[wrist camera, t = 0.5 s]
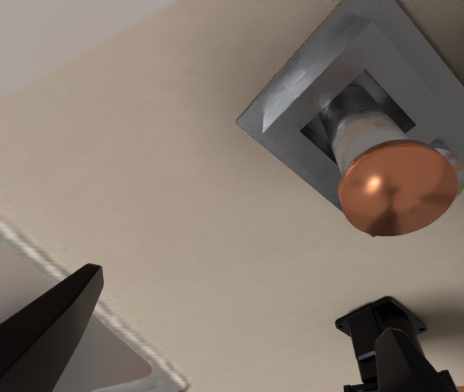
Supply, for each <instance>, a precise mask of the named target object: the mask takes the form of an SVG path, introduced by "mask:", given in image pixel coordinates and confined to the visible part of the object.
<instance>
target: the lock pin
mask: <svg viewBox="0 0 464 392" xmlns="http://www.w3.org/2000/svg"><path fill="white" fill-rule="evenodd" d="M321 121H322V124H323V126H324V129H325V132H326V134H327V137H328V140H329V142H330V145H331V148H332V150H333V153H334V156H335V158H336V161H337V164H338V166H339V169H340V172H341V174H342V176H341V179H340V182H339V186H338V194H339V199H340V202H341V205H342V208H343V211H344V214H345V216H346V218H347V219H348V221H349V222H350V223H351V224H352V225H353V226H354V227H356V228H357V229H359V230H361V231H363V232H365V233H368V234H372V235H377V236H397V235H403V234H408V233H411V232H414V231H417V230H419V229H422V228H424V227H426V226H428V225H429V224H431V223H432V222H434V221H435V220H437V219H438V218H439V217H440V216H441V215H442V214H444V213H445V211H446V210H447V209H448V208H449V207H450V205H451V204H452V202H453V200H454V198H455V196H456V193H457V189H458V177H457V173H456V171H455V169H454V167H453V166H452V165H451V163H450V162H449V161H448V160H447V159H446V158H445V157H444V156H443V155H442V154H441V153H440V152H439V151H437V150H436V149H435V148H434V147H432V146H431V145H429V144H427V143H424V142H421V141H418V140H411V139H409V138H408V136H407V135H406V134H405V133H404V132H403V131H402V130H401V129H400V128H399V126H398V125H397V124H396V123H395V122H394V121H393V120H392V119H391V117H390V116H389V115H388V114H387V113H386V112H385V111H384V110H383V109H382V107H381V106H380V105H379V104H378V103H377V102H376V101H375V100H374V98H373V97H372V96H371V95H370V94H369V93H368V92H367V91H366V90H364V89H363V88H361V87H357V86H347V87H345V88H344V89H343V90H342V91H341V92H340V93H339V94H338V95H337V96H336V97H335V98H334V99H333V100H332V101H331V102H330V103H328V104H327V105H326V106H325V107H324V108H323V109H322V110H321Z"/></svg>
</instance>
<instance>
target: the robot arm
mask: <svg viewBox="0 0 464 392" xmlns="http://www.w3.org/2000/svg"><path fill="white" fill-rule="evenodd" d="M103 285H104V279H103V270H102V267H101V266H100V265H96V264H91V263H88V264H86V265H84V266H83V267H81V268H80V269H78V270H77V271H76V272H74V273H73V274H71V275H70V276H68V277H67V278H66V279H64V280H63V281H61V282H60V283H58V284H57V285H55V286H54V287H53V288H51V289H50V290H48V291H47V292H45V293H44V294H43V295H41V296H40V297H38V298H37V299H35V300H34V301H33V302H31V303H30V304H28V305H27V306H25V307H24V308H22V309H21V310H20V311H18V312H17V313H15V314H14V315H13V316H11V317H10V318H8V319H7V320H5V321H4V322H2V323H1V324H0V392H52V391H53V389H54V387H55V385H56V384H57V382H58V380H59V378H60V376H61V375H62V373H63V371H64V369H65V367H66V365H67V364H68V362H69V360H70V358H71V356H72V355H73V353H74V351H75V349H76V347H77V346H78V344H79V342H80V340H81V338H82V336H83V334H84V331H85V329H86V327H87V324H88V322H89V319H90V317H91V315H92V312H93V310H94V308H95V305H96V303H97V301H98V298H99V296H100V294H101V291H102V289H103ZM335 325H336V328H337V329H339V330H341V331H342V332H344V333H345V334H347V335H348V336H350V337H351V339H352V344H353V348H354V352H355V357H356V359H357V362H358V367H359V371H360V375H361V380H362V382H363V383H364V384H358V385H352V386H350V385H344V392H459V391H458V389H457V387H456V385H455V383H454V381H453V379H452V377H451V375H450V373H449V371H448V370H442V371H441V372H437V371H436V370H435V369H434V367H433V366H432V365H431V364H430V363H429V361H428V360H427V359H426V358H425V355H424V353H423V350H422V348H421V346H420V343H419V341H418V338H417V336H416V335H417V334H420V333H422V332H425V331H427V327H426V325H425V324H424V323H423V322H422V321H420V320H419V319H418V318H416V317H415V316H414V315H412V314H411V313H410V312H408V311H407V310H406V309H404V308H403V307H402V306H400V305H399V304H398V303H396V302H395V301H394V300H392V299H391V298H384V299H382V300H380V301H378V302H376V303H373V304H371V305H369V306H367V307H365V308H363V309H361V310H359V311H356V312H354V313H352V314H350V315H348V316H346V317H344V318H342V319H339V320H337V321H336V322H335Z"/></svg>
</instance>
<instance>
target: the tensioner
mask: <svg viewBox="0 0 464 392" xmlns="http://www.w3.org/2000/svg"><path fill="white" fill-rule="evenodd" d="M347 86H357V87H361V88H363V89H364V90H366V91H367V92H368V93H369V94H370V95H371V96H372V97H373V98H374V100H375V101H376V102H377V103H378V104H379V105H380V106H381V107H382V109H383V110H384V111H385V112H386V113H387V114H388V115H389V116H390V117H391V119H392V120H393V121H394V122H395V123H396V124H397V125H398V126H399V128H400V129H401V130H402V131H403V132H404V133H405V134H406V135H407V136H408V138H409V139H411V140H418V141H421V142H424V143H427V144H429V145H431V146H432V147H434V148H435V149H436V150H437V151H439V152H440V153H441V154H442V155H443V156H444V157H445V158H446V159H447V160H448V161H449V162H450V163H451V165H452V166H453V167H454V169H455V171H456V173H457V177H458V189H457V193H456V196H455V198H454V200H455V199H456V197H457V196H458V195H459V194H460V192H461V191H462V189H463V187H464V87H463V85H462V84H461V83H460V82H459V80H458V79H457V78H456V77H455V75H454V74H453V73H452V72H451V70H450V69H449V68H448V67H447V65H446V64H445V63H444V61H443V60H442V59H441V58H440V56H439V55H438V54H437V53H436V51H435V50H434V49H433V48H432V46H431V45H430V44H429V43H428V41H427V40H426V39H425V38H424V36H423V35H422V34H421V32H420V31H419V30H418V29H417V27H416V26H415V25H414V24H413V22H412V21H411V20H410V19H409V17H408V16H407V15H406V14H405V12H404V11H403V10H402V9H401V7H400V6H399V5H398V3H397V2H396V1H395V0H342V1H341V2H340V3H339V4H338V5H337V6H336V7H335V9H334V10H333V11H332V12H331V13H330V14H329V15H328V17H327V18H326V19H325V20H324V21H323V22H322V23H321V24H320V26H319V27H318V28H317V29H316V30H315V31H314V32H313V34H312V35H311V36H310V37H309V38H308V39H307V40H306V41H305V43H304V44H303V45H302V46H301V47H300V48H299V49H298V50H297V52H296V53H295V54H294V55H293V56H292V57H291V58H290V60H289V61H288V62H287V63H286V64H285V65H284V66H283V67H282V69H281V70H280V71H279V72H278V73H277V74H276V75H275V77H274V78H273V79H272V80H271V81H270V82H269V83H268V84H267V86H266V87H265V88H264V89H263V90H262V91H261V92H260V93H259V95H258V96H257V97H256V98H255V99H254V100H253V101H252V103H251V104H250V105H249V106H248V107H247V108H246V109H245V110H244V112H243V113H242V114H241V115H240V116H239V117H238V118H237V121H236V124H237V125H238V126H239V127H241V128H242V129H243V130H244V131H245V132H247V133H248V134H249V135H250V136H252V137H253V138H254V139H255V140H256V141H258V142H259V143H260V144H261V145H262V146H264V147H265V148H266V149H267V150H268V151H270V152H271V153H272V154H273V155H274V156H276V157H277V158H278V159H279V160H280V161H282V162H283V163H284V164H285V165H287V166H288V167H289V168H290V169H291V170H293V171H294V172H295V173H296V174H297V175H299V176H300V177H301V178H302V179H303V180H305V181H306V182H307V183H308V184H309V185H311V186H312V187H313V188H314V189H315V190H317V191H318V192H319V193H320V194H322V195H323V196H324V197H325V198H326V199H328V200H329V201H330V202H331V203H332V204H334V205H335V206H336V207H337V208H338V209H340V210H341V211H342V212H343V213H344V211H343V208H342V205H341V202H340V199H339V194H338V186H339V182H340V179H341V176H342V174H341V172H340V169H339V166H338V164H337V161H336V158H335V156H334V153H333V150H332V148H331V145H330V142H329V140H328V137H327V134H326V132H325V129H324V126H323V124H322V121H321V110H322V109H323V108H324V107H325V106H326V105H327V104H328V103H330V102H331V101H332V100H333V99H334V98H335V97H336V96H337V95H338V94H339V93H340V92H341V91H342V90H343V89H344V88H345V87H347ZM454 200H453V201H454ZM370 235H371V236H372V237H375V236H376V235H372V234H370Z"/></svg>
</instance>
